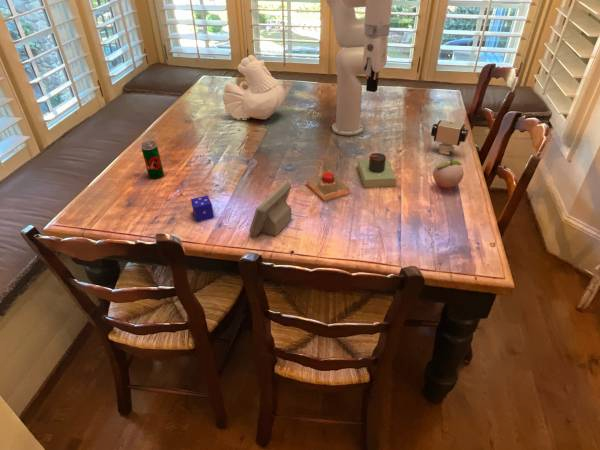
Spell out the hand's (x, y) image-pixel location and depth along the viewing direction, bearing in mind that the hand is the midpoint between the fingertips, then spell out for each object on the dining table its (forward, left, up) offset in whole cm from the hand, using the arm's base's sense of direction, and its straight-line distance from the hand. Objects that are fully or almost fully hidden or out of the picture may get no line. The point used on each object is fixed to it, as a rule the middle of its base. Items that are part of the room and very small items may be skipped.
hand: (371, 90), depth 140 cm
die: (+15, -60, -25) cm, 67 cm away
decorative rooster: (-51, -28, -25) cm, 63 cm away
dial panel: (+12, -2, -25) cm, 28 cm away
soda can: (-14, -72, -25) cm, 78 cm away
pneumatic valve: (+5, +30, -25) cm, 39 cm away
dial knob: (+12, -2, -22) cm, 25 cm away
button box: (+14, -20, -25) cm, 35 cm away
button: (+14, -20, -22) cm, 32 cm away
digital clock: (+26, -42, -25) cm, 56 cm away
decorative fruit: (+26, +16, -25) cm, 40 cm away
